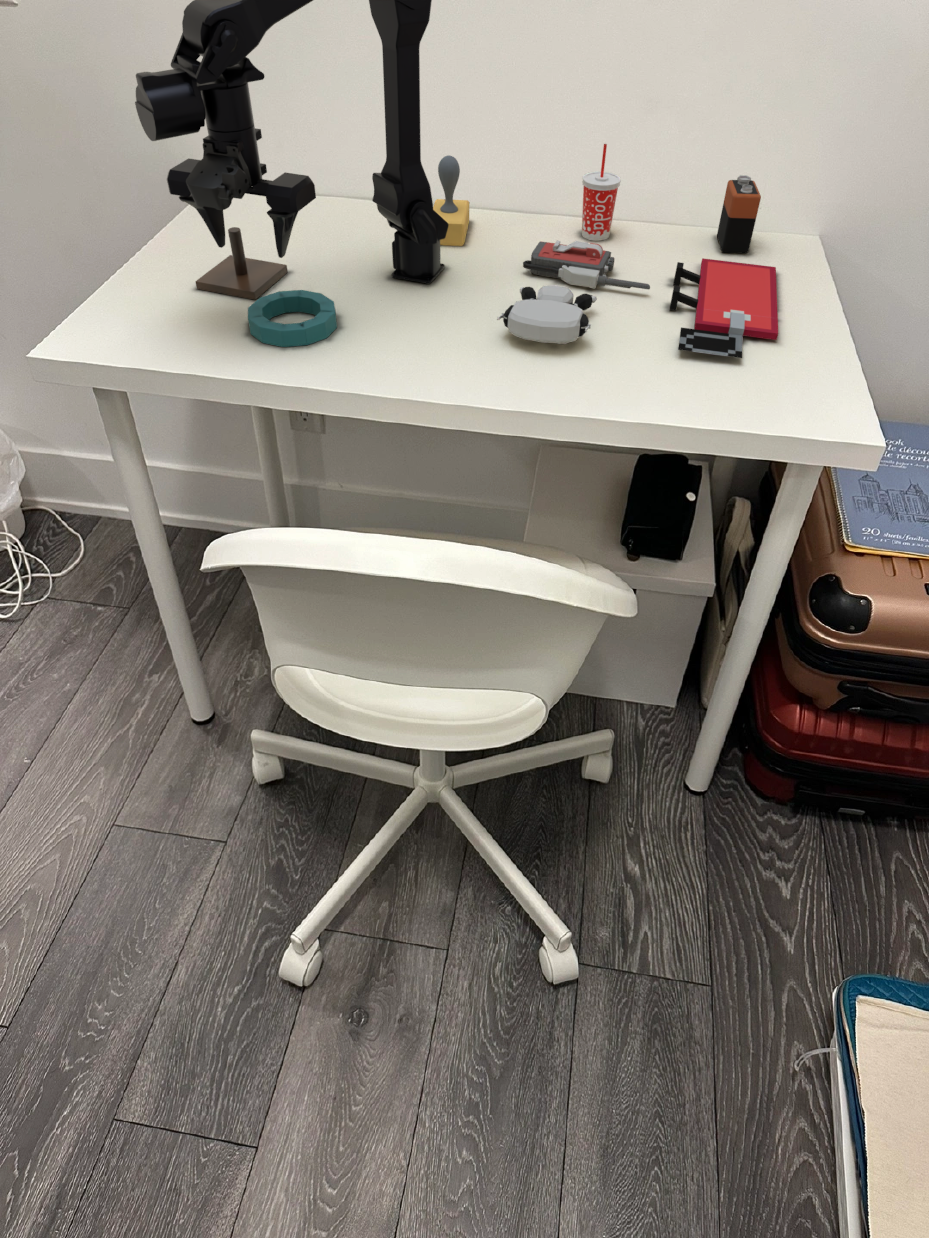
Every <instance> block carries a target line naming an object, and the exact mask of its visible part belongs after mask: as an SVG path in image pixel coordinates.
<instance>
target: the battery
mask: <svg viewBox="0 0 929 1238" xmlns="http://www.w3.org/2000/svg"><path fill="white" fill-rule="evenodd" d="M761 200H762V196H761V194H760V191H759V188H758V185H757V184H756V182H755V181H754V180H752V177H751V176H749V175H743V174H740V175H738V176H737V178H736V179H730V180H728V181H727V184H726V189H725V194H724V198H723V203H722V208H721V214H720V219H719V223H718V227H717V233H716V237H717V241H718V243H719V247H720V250H721V252H722V253H724V254H748V253H749V251H750V248H751V243H752V239H753V238H752V237H753V234H754V230H755V226H756V220H757V216H758V213H759V208H760V204H761Z"/></svg>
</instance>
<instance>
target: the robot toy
mask: <svg viewBox="0 0 929 1238" xmlns="http://www.w3.org/2000/svg"><path fill="white" fill-rule="evenodd" d="M573 292H574V291H572V289H570V287H567V286H564V285H557V284H556V285H555V284H546V285H542V286H541V287H540V288H539V289H538V290H537V291H535V289H534V287H532V286H524V287H520V288H519V293H520V297H521V300H516V301H515V302H514V304H511V305H510V306H509V307H508V308H507V309H505V311H504V312H502V313H501V315H499V316H496V320H497V321H500V320H501V319H503V320H502V321H503V324H504V327H505V328H507V329H508V332H509V333H510V334H512V336H514V337H517V338H520V339H522V340H525V341H533V342H539V343H547V344H548V343H550V344H557V345H566V344H568V343H571V342H576V341H577V340H578V338H582V337H583V336H584V335H585V334H586V333H587V332H588V331H589V330H590V329H591V327H592V324H591V323H590V320H589V318H588V316H587V314H585V313H584V311H586V310H588V309H590V308H592V305H593V304H594V303H596V301H598V298H597V296H596V295H592V294H590V293H581V294H580V295H578V296H576V297H575V300H574V293H573Z"/></svg>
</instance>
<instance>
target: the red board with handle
mask: <svg viewBox="0 0 929 1238" xmlns="http://www.w3.org/2000/svg"><path fill="white" fill-rule="evenodd" d="M684 264H685V263H684V262H679V261H678V262H677V263H676V268H675V273H674V278H673V285H672V286H673V289H672V294H671V299H670V303H669V311H675V312H676V311H677V307H678V303H681V304H684V305H685V306H688V307H691V308H693V309H695V319H694V328H688V327H680V332H679V339H678V347H677V350H678V351H684V352H685V351H686V352H691V353H692V352H693V353H700V354H708V355H715V356H721V357H730V358H735V359H736V358H738V359H743V346H744V345H743V344H744V342H743V341H744V340H743V339H744V338H743V337H750V338H757V339H765V340H773V341H777V339H778V336H779V315H778V287H777V267H776V266H771V265H761V264H754V263H745V262H737V261H730V260H729V261H727V260H721V259H712V258H703V257H702V258H701V262H700V269H699V274H698V273H696V272H693V271H691V270H688V269H686V268H684ZM682 279H685V280H686V281H689V282H692V283H694V284H697V285H698V289H697V298H695V297H693V296H690V295H688V294H685V293H683V292H681V286H680V285H681V282H682V281H681V280H682Z"/></svg>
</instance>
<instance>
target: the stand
mask: <svg viewBox="0 0 929 1238" xmlns="http://www.w3.org/2000/svg"><path fill="white" fill-rule="evenodd" d="M227 234H228V238H229V243H230V249H231V254H229V255H228V256H227V257H226V258H224V259H223V260H222V261H220V262H219V263H217V264H216V265H215V266H214V267H212V268H211V269H210V270H208V271H207V272H206V273H204V274H203V275H201V276H200V277H199V278H197V279H196V280H195V286H196V290H200V291H206V292H211V293H217V294H222V295H227V296H232V297H238V298H244V299H248V300H254V301H256V300H258V299H259V298H260V297H262V295H263V294H265V292H267V291H268V290H269V289H270V288H272V286H273V285H275V284H276V283H278V281H279V280H281V279H282V278H283V277H284V276H285V275H287V274H288V273H289V272H288V265H287V264H285V263H278V262H273V261H266V260H262V259H261V260H260V259H255V258H249V257H246V255H245V249H244V242H243V237H242V231H241V227H236V226H232V227H229V228H228V229H227Z"/></svg>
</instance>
